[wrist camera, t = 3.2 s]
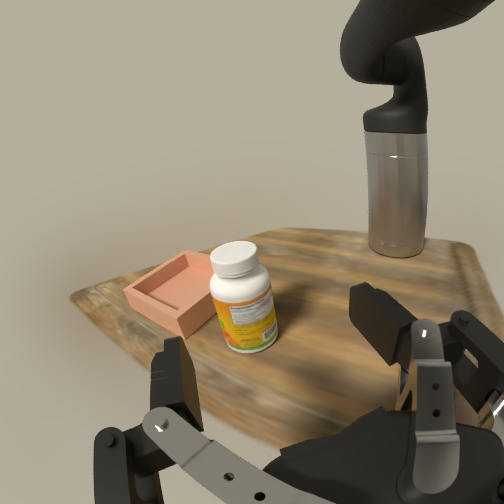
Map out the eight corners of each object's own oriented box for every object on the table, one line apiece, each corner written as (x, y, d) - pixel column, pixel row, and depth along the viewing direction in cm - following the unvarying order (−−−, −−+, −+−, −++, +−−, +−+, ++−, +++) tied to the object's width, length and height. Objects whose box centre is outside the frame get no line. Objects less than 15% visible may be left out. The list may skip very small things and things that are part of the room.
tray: (190, 266, 43) (185, 249, 41) (250, 282, 36) (246, 263, 34) (131, 307, 35) (123, 289, 33) (185, 339, 28) (176, 318, 26)
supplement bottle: (225, 323, 29) (203, 244, 25) (273, 314, 29) (260, 232, 25) (226, 359, 24) (199, 273, 20) (282, 349, 24) (270, 259, 20)
